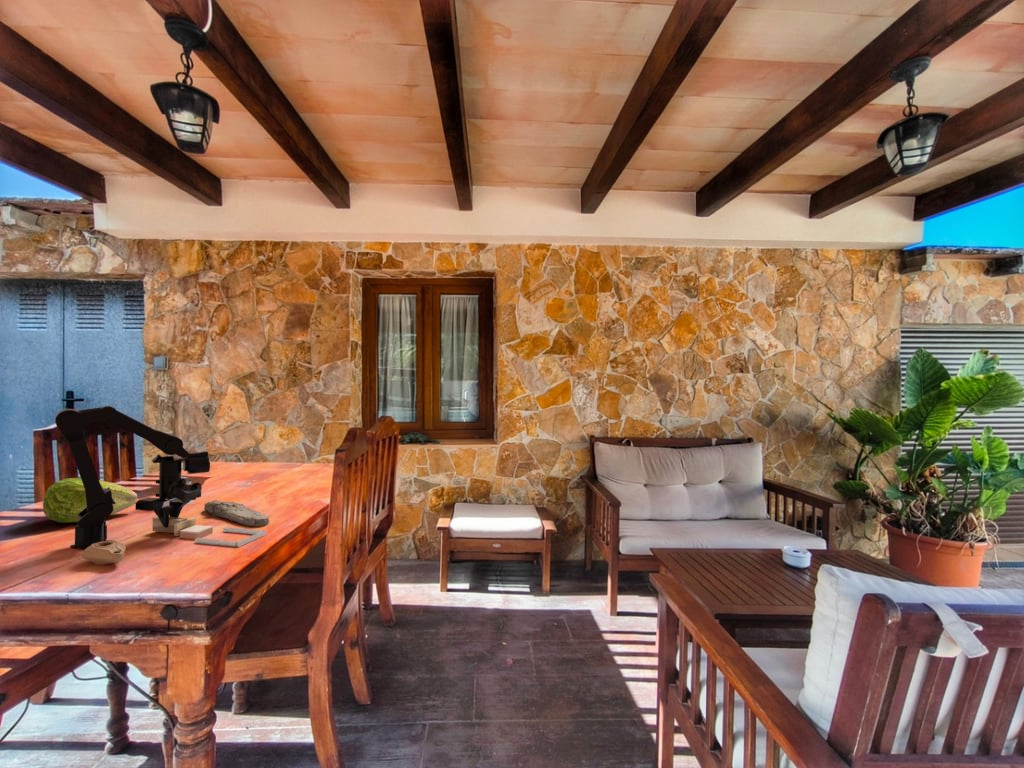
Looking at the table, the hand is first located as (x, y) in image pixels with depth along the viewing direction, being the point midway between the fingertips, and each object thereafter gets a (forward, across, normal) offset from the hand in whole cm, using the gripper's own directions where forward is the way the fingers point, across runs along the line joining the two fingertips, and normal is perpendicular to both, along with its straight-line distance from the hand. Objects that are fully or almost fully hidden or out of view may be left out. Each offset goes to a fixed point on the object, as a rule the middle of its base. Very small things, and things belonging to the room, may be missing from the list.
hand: (169, 526), depth 156 cm
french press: (+2, +30, +26) cm, 40 cm away
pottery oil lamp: (+2, -25, -6) cm, 26 cm away
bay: (+2, 0, -22) cm, 22 cm away
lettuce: (+2, +6, +36) cm, 37 cm away
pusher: (+1, 0, 0) cm, 2 cm away
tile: (+2, 0, -10) cm, 10 cm away
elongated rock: (+3, +20, -6) cm, 21 cm away
